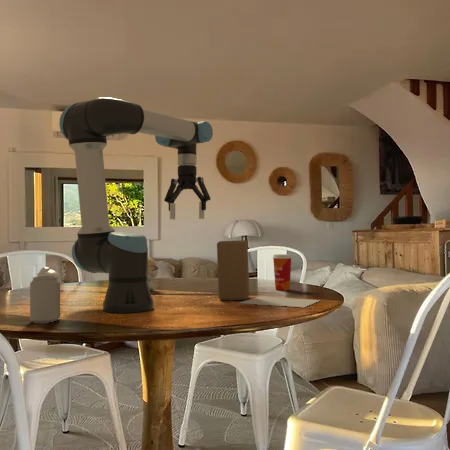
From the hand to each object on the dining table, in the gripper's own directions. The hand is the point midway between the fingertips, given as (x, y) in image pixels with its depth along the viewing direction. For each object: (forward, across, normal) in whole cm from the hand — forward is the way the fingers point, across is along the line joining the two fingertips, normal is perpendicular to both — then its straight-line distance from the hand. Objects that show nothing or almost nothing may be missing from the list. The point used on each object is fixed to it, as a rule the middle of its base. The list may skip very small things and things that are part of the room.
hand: (186, 219), depth 188 cm
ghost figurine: (+29, +50, +24) cm, 63 cm away
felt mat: (+29, -44, +13) cm, 54 cm away
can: (+30, 0, +70) cm, 76 cm away
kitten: (+29, +15, +6) cm, 33 cm away
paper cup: (+28, -33, -18) cm, 47 cm away
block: (+29, -28, +12) cm, 42 cm away
